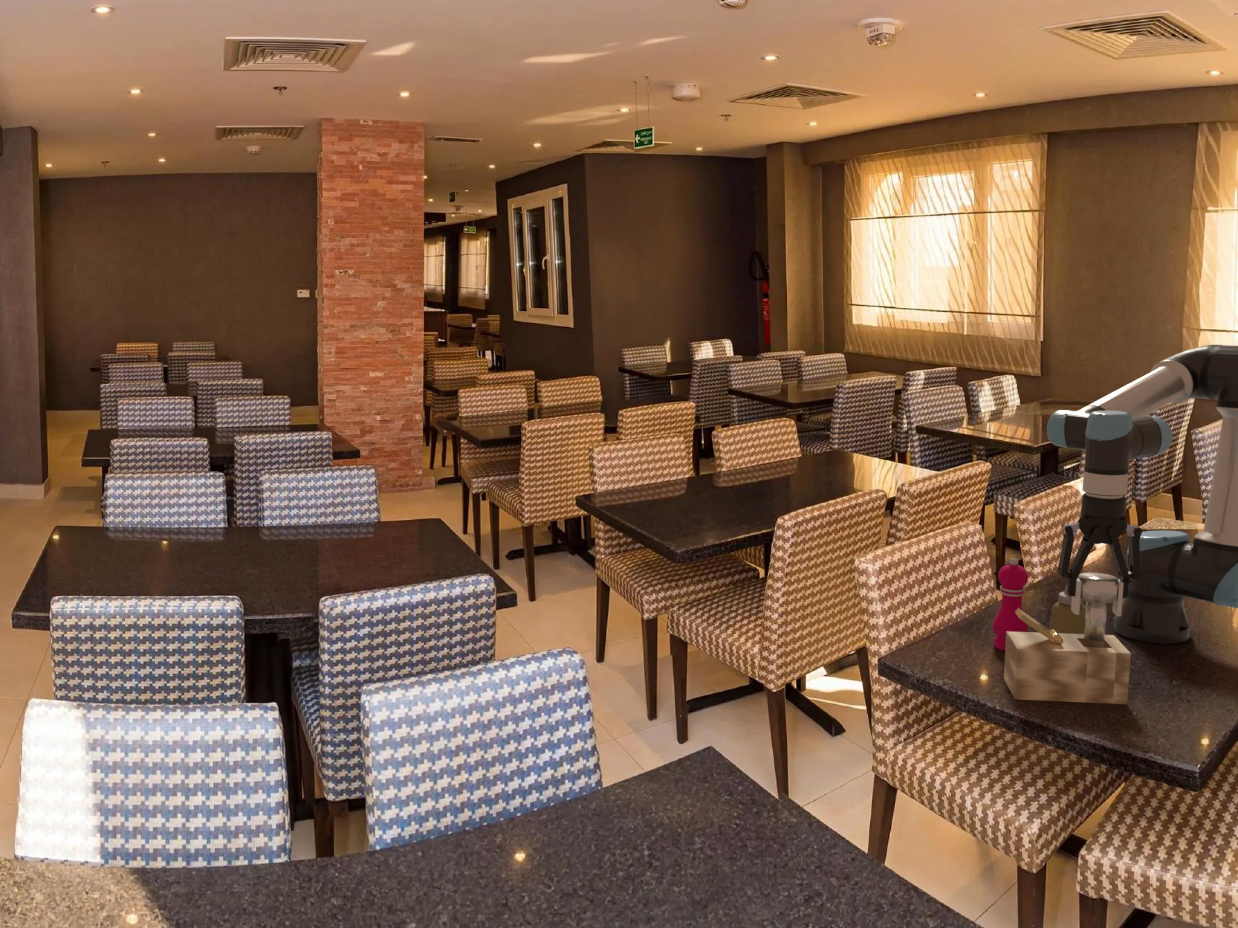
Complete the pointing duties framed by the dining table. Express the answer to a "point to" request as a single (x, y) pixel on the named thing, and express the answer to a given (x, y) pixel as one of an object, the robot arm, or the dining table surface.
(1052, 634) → the brass latch
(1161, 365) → the robot arm
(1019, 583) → the pepper mill
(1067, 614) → the squeeze bottle
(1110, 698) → the maple block
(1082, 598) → the silver capsule
